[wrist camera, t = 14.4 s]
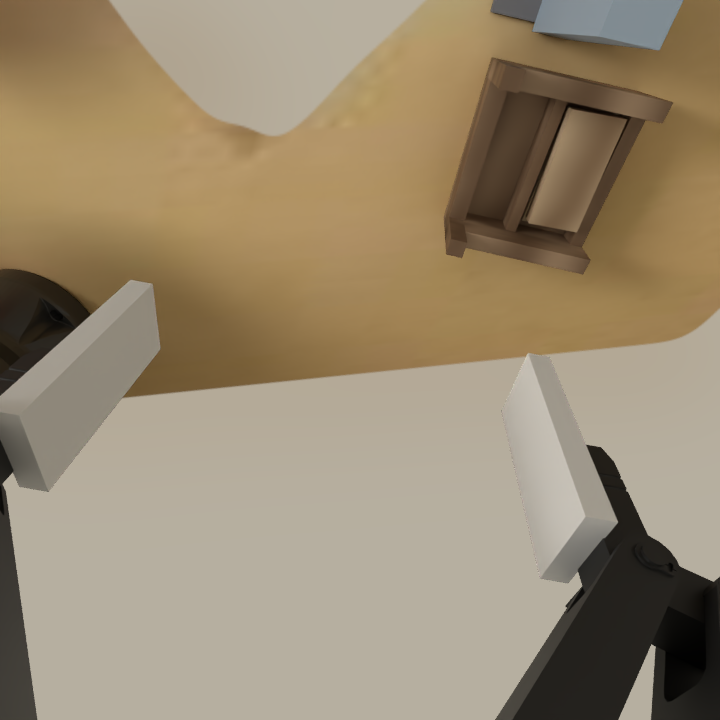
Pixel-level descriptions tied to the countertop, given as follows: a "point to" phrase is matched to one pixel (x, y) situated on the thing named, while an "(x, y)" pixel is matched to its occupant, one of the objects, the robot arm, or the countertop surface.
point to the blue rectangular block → (608, 21)
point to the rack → (531, 162)
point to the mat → (517, 8)
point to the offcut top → (574, 168)
